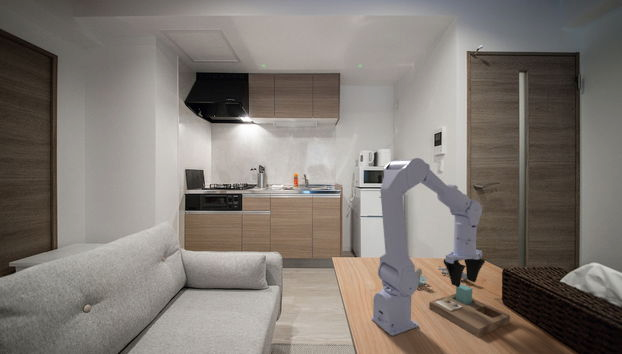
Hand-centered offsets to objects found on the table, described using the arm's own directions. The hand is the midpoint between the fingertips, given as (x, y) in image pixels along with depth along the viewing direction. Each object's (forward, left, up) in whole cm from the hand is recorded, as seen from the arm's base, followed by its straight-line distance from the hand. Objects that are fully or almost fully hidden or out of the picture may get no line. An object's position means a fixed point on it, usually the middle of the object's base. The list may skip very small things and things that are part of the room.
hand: (463, 283), depth 74 cm
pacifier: (-1, +17, -8) cm, 19 cm away
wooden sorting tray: (-3, -4, -7) cm, 9 cm away
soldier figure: (+18, +14, -8) cm, 24 cm away
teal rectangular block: (0, 0, -7) cm, 7 cm away
